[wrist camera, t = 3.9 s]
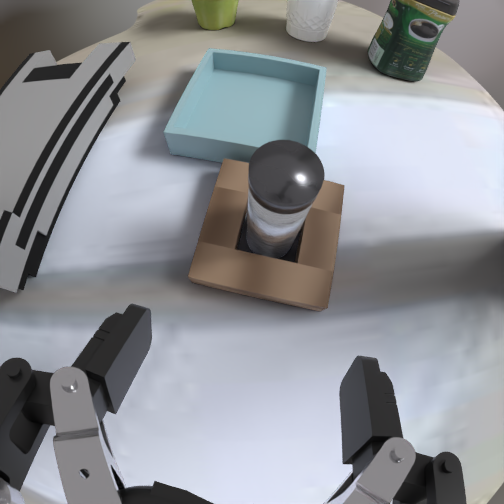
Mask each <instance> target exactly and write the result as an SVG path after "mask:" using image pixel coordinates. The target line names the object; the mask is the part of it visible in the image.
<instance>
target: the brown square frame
mask: <svg viewBox="0 0 504 504" xmlns="http://www.w3.org/2000/svg"><path fill="white" fill-rule="evenodd" d="M248 170H249V163H246V162H241V161H236V160H231V159H225V158H224V159H223V162H222V165H221V169H220V172H219V175H218V178H217V181H216V184H215V187H214V190H213V193H212V197H211V200H210V203H209V206H208V209H207V213H206V216H205V219H204V223H203V226H202V229H201V233H200V236H199V239H198V243H197V246H196V250H195V253H194V257H193V260H192V264H191V267H190V271H189V274H188V278H189V279H190V280H191V281H192V283H196V284H200V285H205V286H209V287H213V288H217V289H221V290H225V291H230V292H234V293H238V294H242V295H247V296H251V297H255V298H260V299H264V300H269V301H273V302H278V303H283V304H287V305H292V306H297V307H301V308H306V309H311V310H316V311H322V310H325V309H327V308H328V302H329V296H330V290H331V284H332V278H333V272H334V265H335V259H336V252H337V244H338V237H339V229H340V221H341V213H342V204H343V195H344V185H341V184H337V183H334V182H330V181H326V180H324V181H323V184H322V187H321V189H320V191H319V193H318V195H317V197H316V199H315V201H314V202H313V204H312V206H311V208H310V210H309V212H308V214H307V216H306V218H305V220H304V222H303V224H302V226H301V230H300V236H299V241H298V246H297V252H296V257H295V262H294V263H293V262H289V261H284V260H280V259H276V258H271V257H267V256H262V255H258V254H253V253H249V252H245V251H240V250H237V248H238V244H239V240H240V236H241V232H242V228H243V224H244V220H245V216H246V212H247V209H248V189H249V186H248Z"/></svg>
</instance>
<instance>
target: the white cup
mask: <svg viewBox="0 0 504 504" xmlns="http://www.w3.org/2000/svg"><path fill="white" fill-rule="evenodd" d="M337 4H338V0H287V14H286V17H287V26H286V31H287V32H288V33H289V35H291V36H292V37H294V38H296V39H299V40H303V41H307V42H318V41H322V40H323V39H325V38H326V36H327V33H328V29H329V26H330V24H331V22H332V18H333V16H334V13H335V10H336V7H337Z"/></svg>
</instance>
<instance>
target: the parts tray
mask: <svg viewBox="0 0 504 504" xmlns="http://www.w3.org/2000/svg"><path fill="white" fill-rule="evenodd" d="M325 77H326V67H322V66H318V65H313V64H309V63H305V62H300V61H295V60H290V59H285V58H280V57H274V56H268V55H262V54H255V53H248V52H240V51H232V50H222V49H211V48H209V49H208V51H207V52H206V54H205V55H204V57H203V59H202V61H201V62H200V64H199V66H198V67H197V69H196V71H195V73H194V74H193V76H192V78H191V80H190V82H189V83H188V85H187V87H186V89H185V91H184V93H183V94H182V96H181V98H180V100H179V102H178V104H177V106H176V108H175V110H174V112H173V114H172V116H171V118H170V120H169V122H168V124H167V126H166V128H165V130H164V135H165V138H166V141H167V144H168V147H169V150H170V153H171V154H173V155H179V156H186V157H192V158H198V159H204V160H210V161H215V162H221V163H222V162H223V159H224V158H225V159H231V160H236V161H241V162H246V163H249V162H250V159H251V157H252V155H253V153H254V152H255V151H256V150H257V149H258V148H259V147H260V146H262V145H264V144H265V143H268V142H270V141H274V140H291V141H296V142H299V143H301V144H303V145H305V146H307V147H308V148H310V149H311V150H312V151H313V152H314V153H316V146H317V139H318V132H319V125H320V117H321V110H322V102H323V94H324V86H325Z"/></svg>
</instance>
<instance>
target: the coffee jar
mask: <svg viewBox="0 0 504 504" xmlns="http://www.w3.org/2000/svg"><path fill="white" fill-rule="evenodd" d="M458 6H459V0H391V1H390V4H389V7H388V10H387V12H386V14H385V16H384V18H383V20H382V22H381V24H380V26H379V28H378V30H377V32H376V33H375V35H374V37H373V39H372V41H371V44H370V46H369V48H368V56H369V59H370V61H371V63H372V64H373V65H374V66H375V67H376V68H377V69H378V70H379V71H380V72H382V73H384V74H386V75H389V76H393V77H396V78H400V79H404V80H409V81H420V80H421V79H422V78H423V76H424V74H425V72H426V70H427V67H428V65H429V62H430V60H431V57H432V54H433V52H434V49H435V47H436V45H437V42H438V40H439V38H440V35H441V33H442V31H443V30H444V28H445V27H446V25H447V24H448V23H449V22H450V21H452V20H453V19H454V17H455V15H456V12H457V9H458Z"/></svg>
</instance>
